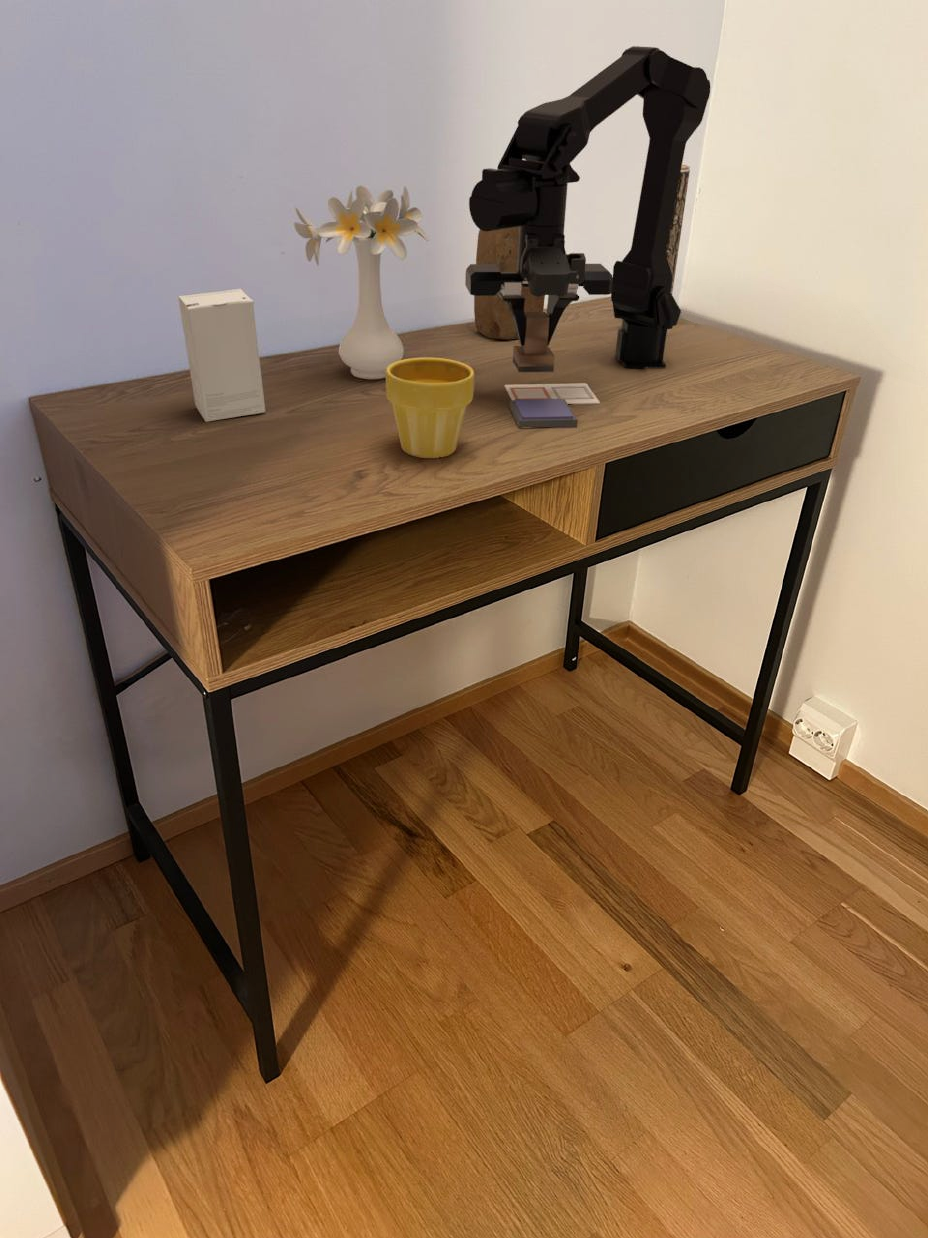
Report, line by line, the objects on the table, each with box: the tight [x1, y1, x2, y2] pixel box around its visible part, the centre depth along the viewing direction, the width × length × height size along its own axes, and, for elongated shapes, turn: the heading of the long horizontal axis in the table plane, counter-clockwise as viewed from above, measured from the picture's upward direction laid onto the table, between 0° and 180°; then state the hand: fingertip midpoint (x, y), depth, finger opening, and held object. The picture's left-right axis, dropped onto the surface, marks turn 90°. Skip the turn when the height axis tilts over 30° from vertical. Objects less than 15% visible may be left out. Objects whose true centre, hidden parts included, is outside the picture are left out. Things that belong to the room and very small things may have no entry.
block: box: [473, 226, 546, 341], centre depth 152 cm, size 11×8×20 cm
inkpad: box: [508, 399, 578, 429], centre depth 125 cm, size 8×8×1 cm
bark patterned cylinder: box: [666, 163, 691, 295], centre depth 159 cm, size 7×7×25 cm
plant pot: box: [385, 357, 475, 459], centre depth 113 cm, size 10×10×10 cm
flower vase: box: [293, 184, 429, 380], centre depth 131 cm, size 13×18×25 cm
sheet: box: [504, 382, 601, 405], centre depth 133 cm, size 12×8×1 cm, turn 97°
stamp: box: [512, 311, 555, 373], centre depth 129 cm, size 5×5×7 cm
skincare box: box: [178, 288, 266, 423], centre depth 120 cm, size 8×6×15 cm
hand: (534, 344), depth 129 cm, fingers closed on stamp, 3 cm apart
